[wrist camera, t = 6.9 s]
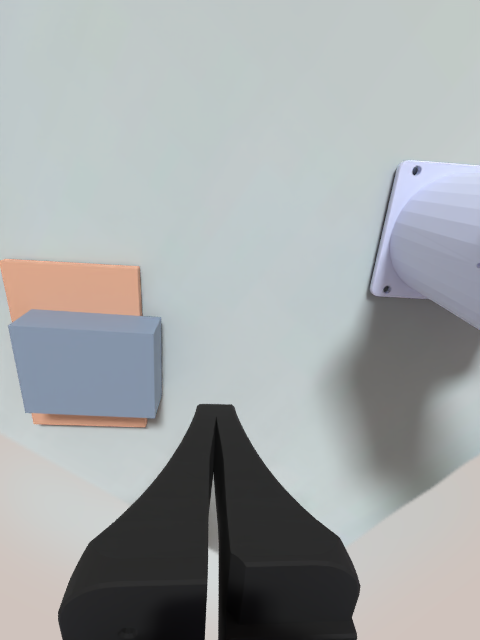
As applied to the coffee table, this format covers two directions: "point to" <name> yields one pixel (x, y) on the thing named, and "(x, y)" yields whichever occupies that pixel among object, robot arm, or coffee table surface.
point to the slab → (88, 363)
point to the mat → (73, 306)
